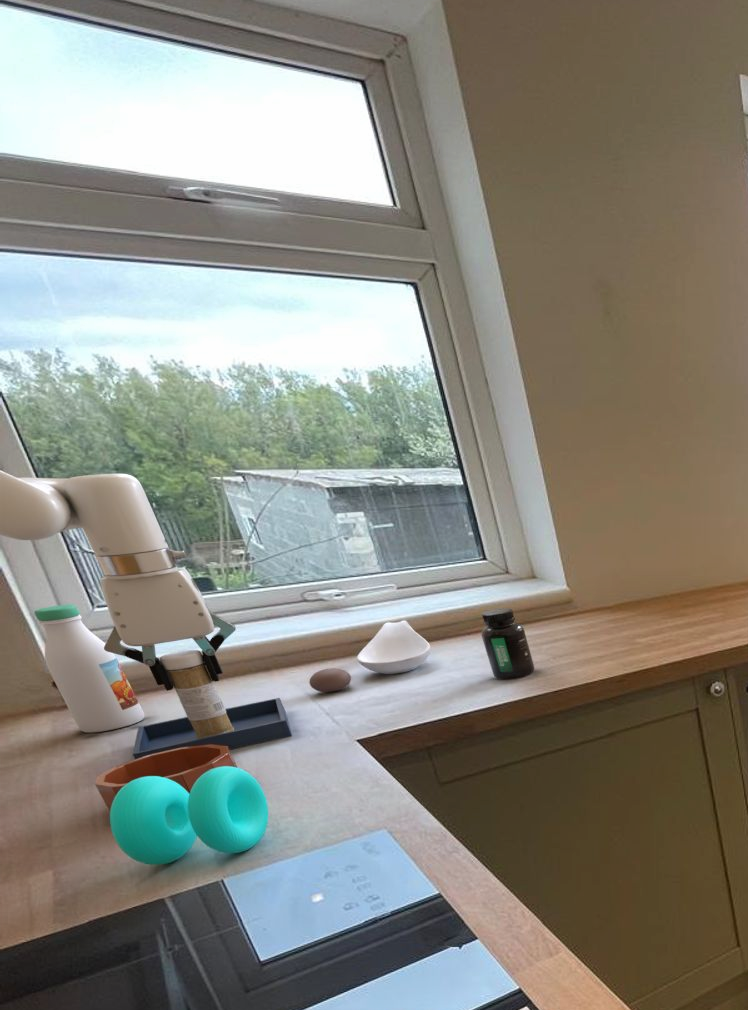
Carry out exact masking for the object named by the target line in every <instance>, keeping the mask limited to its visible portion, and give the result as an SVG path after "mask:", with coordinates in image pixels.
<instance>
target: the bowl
mask: <svg viewBox="0 0 748 1010" xmlns="http://www.w3.org/2000/svg"><path fill="white" fill-rule="evenodd" d="M232 754H233V753H232V751H231V750H229V747H228V746H221V745H213V744H209V745H200V746H190V747H182V748H177V749H173V750H168V751H164V752H159V753H155V754H150V755H147V756H144V757H141V758H138V759H135V758H134V759H132V760H129V761H126V762H123V763H119V764H117V765H116V766H114V767H111V768H110V769H108V770H106V771H104V772H103V773H101V774H99V775H97V777H96V780H95V787H96V789H97V791H98V793H99V794H100V796H101V798H102V800H103V802H104V804H105V806H106V807H107V809H108V811H109V812H110V811H111V806H112V803H113V800H114V798H115V797H116V795H117V793H118V792H119V791H120V789H121V788H122V787H123V786H125V785H126V784H127V783H129V782H131V781H132V780H135V779H138V778H141V777H146V776H159V777H164V778H167V779H170V780H172V781H174V782H176V783H178V784H179V785H181V786H182V787H183V788H184V789H185V790H186V791H187V792H188V793H189V794H190V791H191V789H192V787H193V785H194V784H195V782H196V781H197V779H198V778H199V777H200V776H201V775H203V774H204V773H205V772H207V771H209V770H211V769H214V768H217V767H223V766H230V767H236V768H239V767H238V765H237V763H236V761H235V759H234V756H233V755H232Z"/></svg>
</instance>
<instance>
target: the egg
mask: <svg viewBox="0 0 748 1010" xmlns="http://www.w3.org/2000/svg"><path fill="white" fill-rule="evenodd" d="M351 681H352V676H351V674H350V673H349V672H348V671H347V670H345V669H342V668H338V667H337V668H335V667H329V668H324V669H321V670H319V671H318V670H317V672H315V673H313V674H312V675H311V676H310V678H309V682H308V683H309V686H310V687H311V688H312V689H313V690H315V691H318V692H320V693H321V692H322V693H334V692H338V691H341V690H343V689H345V688H346V687H348V686H349V685H350V683H351Z"/></svg>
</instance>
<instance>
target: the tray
mask: <svg viewBox="0 0 748 1010" xmlns="http://www.w3.org/2000/svg"><path fill="white" fill-rule="evenodd" d="M225 710H226V714H227V716H228V718H229V720H230V723H231V725H232V727H234V731H231V732H226V733H222V734H217V735H213V736H208V737H204V738H199V739H198V738H197V737H196V733H195V731H194V728H193V726H192V724H191V722H190V720H189V719H188V717H187V716H183V717H179V718H174V719H170V720H165V721H160V722H155V723H150V724H146V725H139V726H138V728H137V732H136V738H135V741H134V746H133V751H132V757H133V758H134V760H135V759H138V758H141V757H144V756H147V755H150V754H155V753H159V752H164V751H168V750H173V749H177V748H182V747H190V746H200V745H209V744H213V745H221V746H228V747H229V750H230V751H231V750H235V749H240V748H244V747H248V746H253V745H257V744H261V743H266V742H270V741H274V740H279V739H283V738H288V737H291V736H293V734H292V731H291V727H290V723H289V720H288V715H287V712H286V709H285V707H284V704H283V702H282V700H281V698H280V697H275V698H271V699H266V700H262V701H261V700H260V701H256V702H252V703H247V704H242V705H237V706H233V707H227V708H225Z"/></svg>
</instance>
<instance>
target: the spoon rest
mask: <svg viewBox="0 0 748 1010" xmlns="http://www.w3.org/2000/svg"><path fill="white" fill-rule="evenodd" d="M430 652H431V645H430V643H429V642H428V640H426V639H425V638H424V637H423V636H421V635H420V634H419V633H418V632H416V630H414V629H413V627H412V626H411V625H410V623H409V622H408V621H407V620H406V619H405V620H401V621H398V622H389V621H388V622H385V623H384V624H382V626H381V628H380V629H379V630H378V631H377V632H376V634H375V635H374V637H373V638H371V639H370V641H369V642H368V643H367V644H366V645H365V646H364V647H363V648H362V650H360V652H358V654H357V656H356V661H357V663H358V664H360V665H361V666H362V667H364V668H365V669H367V670H369V671H370V672H371V671H372V672H373V673H374V672H375V673H378V674H383V675H396V674H397V675H398V674H403V673H407V672H411V671H413V670H415V669H417V668H419V667H420V666H421V665H422V664H423V663H425V661H426V660H427V659H428V657H429V655H430Z"/></svg>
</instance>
